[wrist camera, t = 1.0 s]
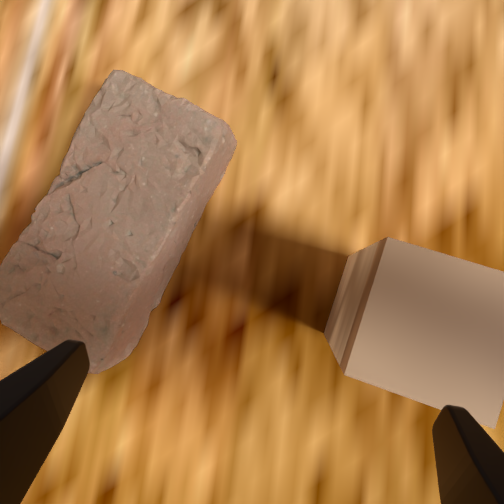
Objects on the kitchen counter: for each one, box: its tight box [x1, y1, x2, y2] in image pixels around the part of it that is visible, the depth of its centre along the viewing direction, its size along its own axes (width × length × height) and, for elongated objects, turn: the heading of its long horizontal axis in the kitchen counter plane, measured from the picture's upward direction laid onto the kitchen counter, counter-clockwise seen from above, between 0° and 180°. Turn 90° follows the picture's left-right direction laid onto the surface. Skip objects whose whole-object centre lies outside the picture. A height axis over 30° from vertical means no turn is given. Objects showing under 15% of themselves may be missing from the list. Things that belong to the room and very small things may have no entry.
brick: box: [0, 70, 237, 374], centre depth 23 cm, size 17×8×5 cm, turn 152°
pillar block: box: [324, 237, 504, 429], centre depth 17 cm, size 5×5×10 cm
